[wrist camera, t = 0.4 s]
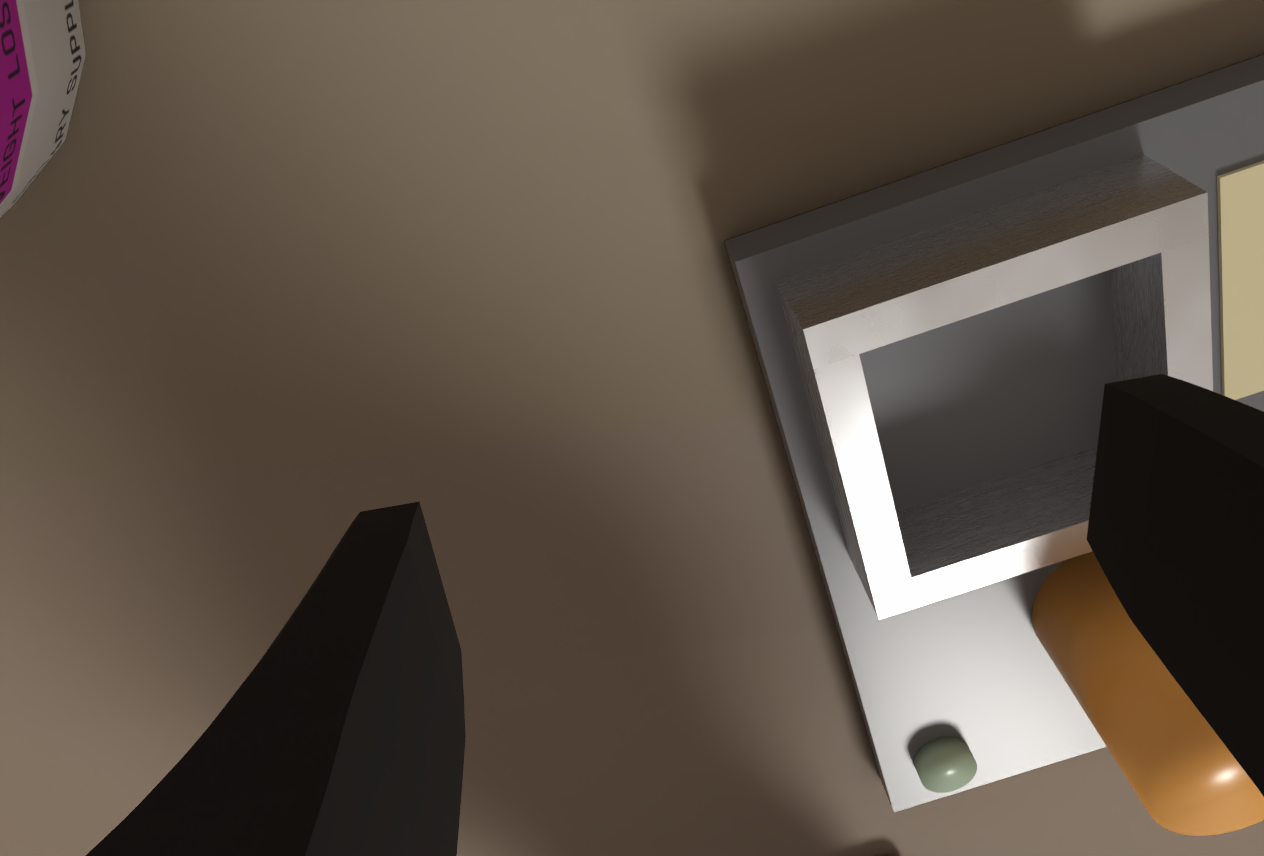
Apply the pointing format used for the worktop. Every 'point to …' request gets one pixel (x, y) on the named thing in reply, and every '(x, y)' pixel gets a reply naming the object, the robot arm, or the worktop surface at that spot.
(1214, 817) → the cap
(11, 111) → the supplement can
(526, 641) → the worktop surface
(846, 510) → the frame
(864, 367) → the breaker panel
